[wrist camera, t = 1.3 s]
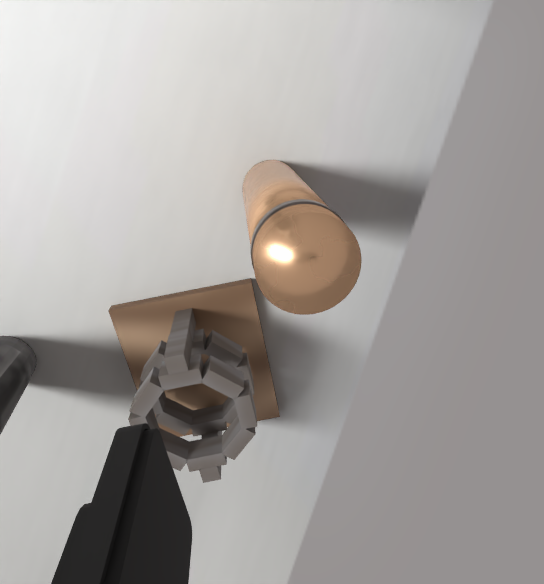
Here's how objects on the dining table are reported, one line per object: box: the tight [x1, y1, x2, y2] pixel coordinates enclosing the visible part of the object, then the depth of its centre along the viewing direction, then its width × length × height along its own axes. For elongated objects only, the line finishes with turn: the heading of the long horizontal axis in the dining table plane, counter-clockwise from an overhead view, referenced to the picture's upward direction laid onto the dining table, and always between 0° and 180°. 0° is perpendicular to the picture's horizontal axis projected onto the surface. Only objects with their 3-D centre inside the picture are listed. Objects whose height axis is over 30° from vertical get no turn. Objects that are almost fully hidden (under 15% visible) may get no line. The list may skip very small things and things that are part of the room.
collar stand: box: [109, 278, 280, 483], centre depth 37 cm, size 14×12×8 cm
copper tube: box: [243, 160, 361, 314], centre depth 27 cm, size 5×5×18 cm
